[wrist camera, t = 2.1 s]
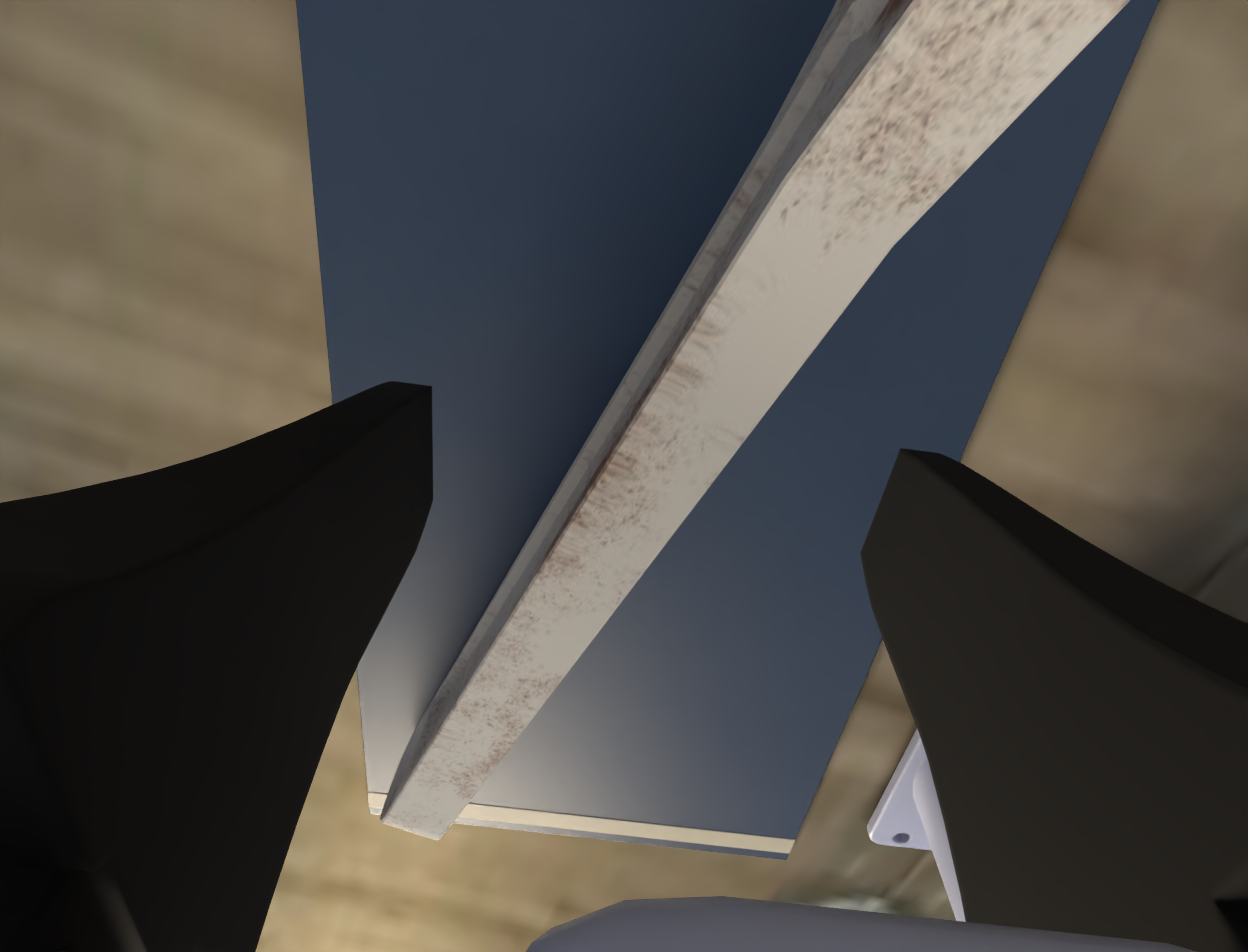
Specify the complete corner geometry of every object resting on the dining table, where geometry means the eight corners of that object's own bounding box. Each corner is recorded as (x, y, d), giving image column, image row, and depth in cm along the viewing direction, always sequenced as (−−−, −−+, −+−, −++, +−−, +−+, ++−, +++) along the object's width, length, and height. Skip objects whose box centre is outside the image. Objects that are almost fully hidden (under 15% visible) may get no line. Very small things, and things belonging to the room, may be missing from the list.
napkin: (1683, -1234, 7) (1712, -1269, 6) (785, 854, 24) (786, 860, 24) (160, -1586, 6) (144, -1638, 6) (371, 808, 24) (369, 814, 23)
